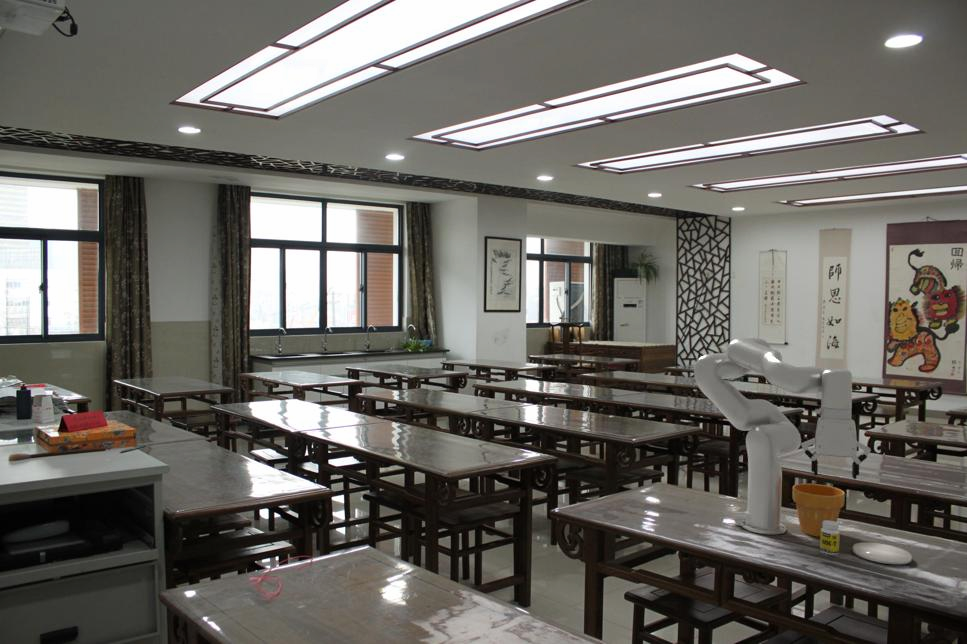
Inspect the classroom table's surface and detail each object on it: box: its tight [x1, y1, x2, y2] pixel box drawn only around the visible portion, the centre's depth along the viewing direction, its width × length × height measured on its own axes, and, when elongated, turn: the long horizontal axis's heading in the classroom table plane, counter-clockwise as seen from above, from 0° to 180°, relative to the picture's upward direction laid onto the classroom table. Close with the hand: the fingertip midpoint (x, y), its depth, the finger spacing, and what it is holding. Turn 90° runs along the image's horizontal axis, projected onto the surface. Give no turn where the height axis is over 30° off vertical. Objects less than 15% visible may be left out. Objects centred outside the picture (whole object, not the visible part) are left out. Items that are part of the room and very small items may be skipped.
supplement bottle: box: [819, 520, 841, 556], centre depth 198 cm, size 5×5×8 cm
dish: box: [852, 542, 913, 565], centre depth 196 cm, size 14×14×2 cm
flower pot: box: [792, 483, 846, 537], centre depth 216 cm, size 14×14×13 cm
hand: (834, 476), depth 198 cm, fingers open, 9 cm apart
